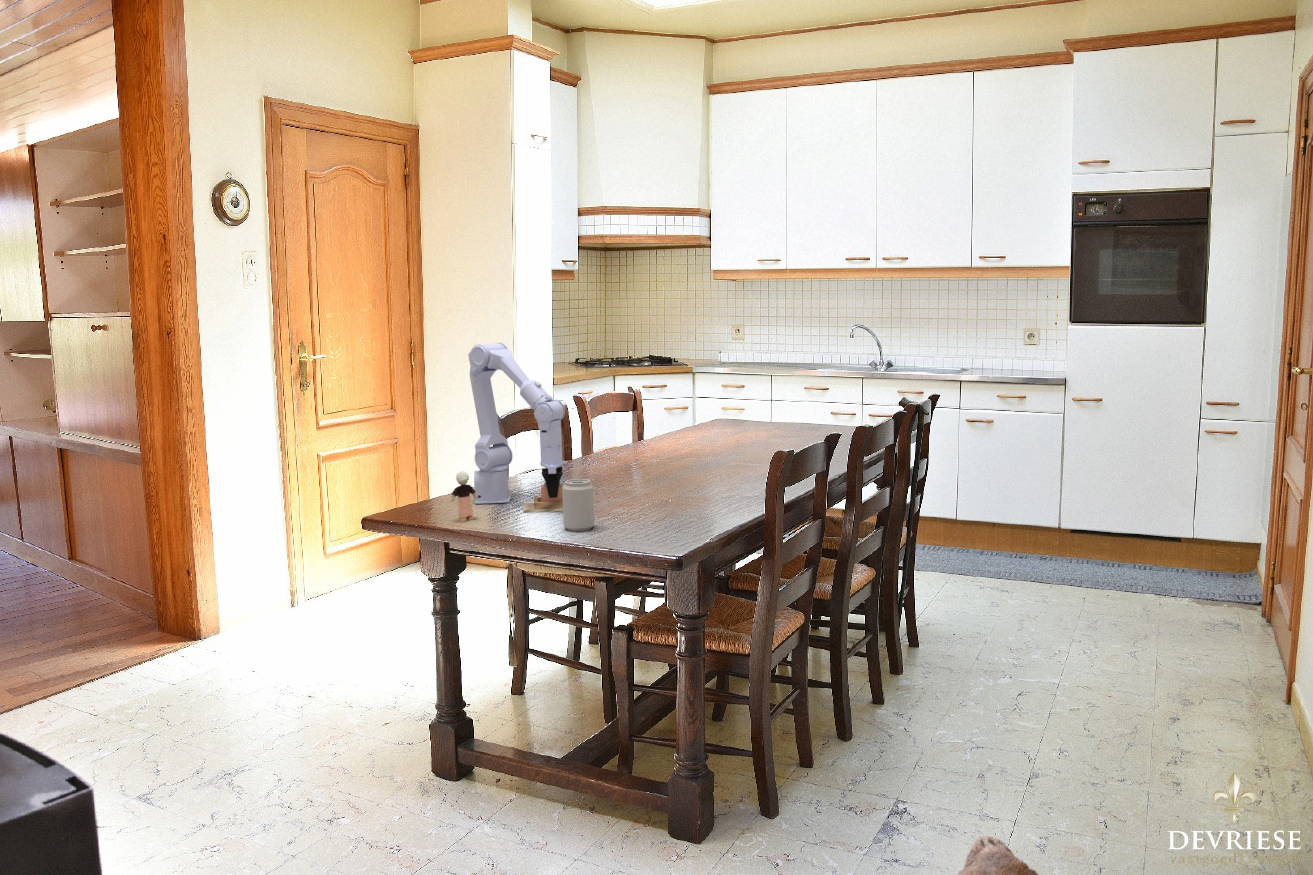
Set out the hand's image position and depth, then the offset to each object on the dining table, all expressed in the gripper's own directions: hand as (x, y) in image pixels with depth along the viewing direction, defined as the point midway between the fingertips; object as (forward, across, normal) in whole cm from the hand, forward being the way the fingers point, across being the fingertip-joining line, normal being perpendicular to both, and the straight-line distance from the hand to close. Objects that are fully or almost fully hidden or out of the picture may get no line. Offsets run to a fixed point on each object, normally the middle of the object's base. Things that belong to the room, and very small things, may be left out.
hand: (553, 495), depth 276 cm
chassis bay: (+3, 0, 0) cm, 3 cm away
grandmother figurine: (+3, -10, +23) cm, 25 cm away
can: (+4, -26, -6) cm, 27 cm away
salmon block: (+3, 0, 0) cm, 3 cm away
